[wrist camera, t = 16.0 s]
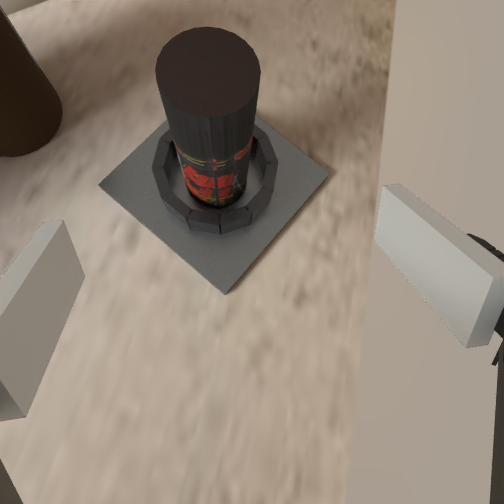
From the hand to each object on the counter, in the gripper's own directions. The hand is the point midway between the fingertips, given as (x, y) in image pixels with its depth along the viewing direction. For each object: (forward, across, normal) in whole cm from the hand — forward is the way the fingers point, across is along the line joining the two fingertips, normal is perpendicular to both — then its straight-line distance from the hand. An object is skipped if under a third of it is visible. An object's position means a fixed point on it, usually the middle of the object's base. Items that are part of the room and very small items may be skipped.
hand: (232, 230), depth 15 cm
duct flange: (+21, 0, -6) cm, 22 cm away
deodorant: (+20, 0, -6) cm, 21 cm away
